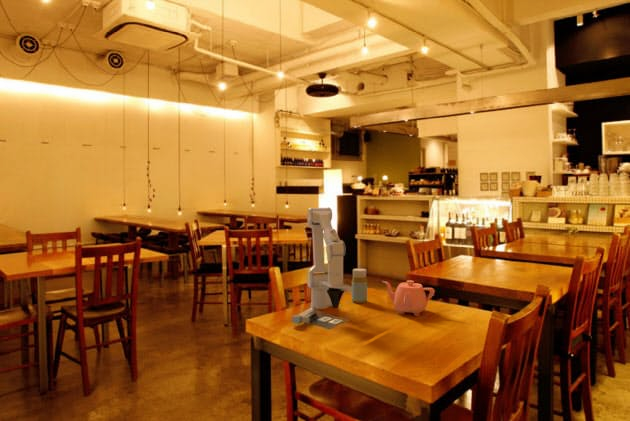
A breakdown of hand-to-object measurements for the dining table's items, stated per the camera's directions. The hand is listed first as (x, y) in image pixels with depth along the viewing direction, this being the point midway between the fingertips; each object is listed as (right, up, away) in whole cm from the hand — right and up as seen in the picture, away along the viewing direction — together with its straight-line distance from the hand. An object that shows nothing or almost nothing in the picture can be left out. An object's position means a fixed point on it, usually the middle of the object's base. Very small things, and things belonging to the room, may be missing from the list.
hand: (335, 307), depth 168 cm
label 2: (0, -6, 0) cm, 6 cm away
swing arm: (-12, -5, +1) cm, 13 cm away
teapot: (+31, -6, +16) cm, 36 cm away
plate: (-5, -6, +3) cm, 8 cm away
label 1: (-4, -5, +3) cm, 8 cm away
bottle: (+13, -5, +33) cm, 36 cm away
